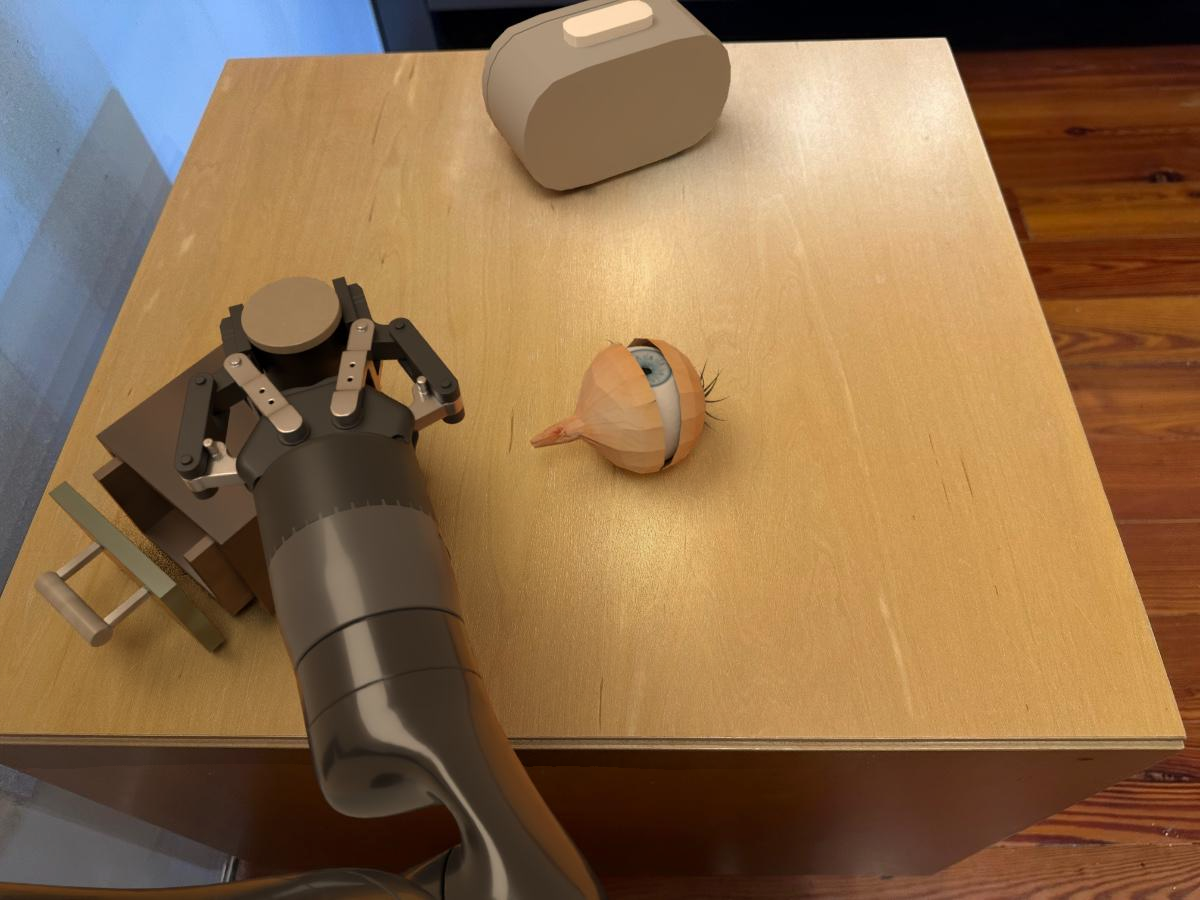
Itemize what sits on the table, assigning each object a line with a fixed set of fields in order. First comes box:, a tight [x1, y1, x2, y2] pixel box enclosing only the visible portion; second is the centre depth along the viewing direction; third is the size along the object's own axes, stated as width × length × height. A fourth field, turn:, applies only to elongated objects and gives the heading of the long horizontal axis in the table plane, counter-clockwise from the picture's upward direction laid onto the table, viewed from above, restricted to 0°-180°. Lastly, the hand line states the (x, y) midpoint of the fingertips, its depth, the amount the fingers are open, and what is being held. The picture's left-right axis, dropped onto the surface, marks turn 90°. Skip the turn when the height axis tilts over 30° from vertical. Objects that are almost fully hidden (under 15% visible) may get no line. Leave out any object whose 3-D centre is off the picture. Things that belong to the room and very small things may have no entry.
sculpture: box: [529, 337, 729, 475], centre depth 64 cm, size 9×9×15 cm
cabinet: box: [95, 342, 389, 617], centre depth 62 cm, size 14×13×10 cm
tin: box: [241, 276, 349, 392], centre depth 50 cm, size 5×5×8 cm
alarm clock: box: [481, 0, 732, 192], centre depth 83 cm, size 21×10×13 cm, turn 117°
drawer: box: [33, 457, 255, 654], centre depth 59 cm, size 17×11×8 cm
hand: (291, 303), depth 49 cm, fingers closed on tin, 4 cm apart
